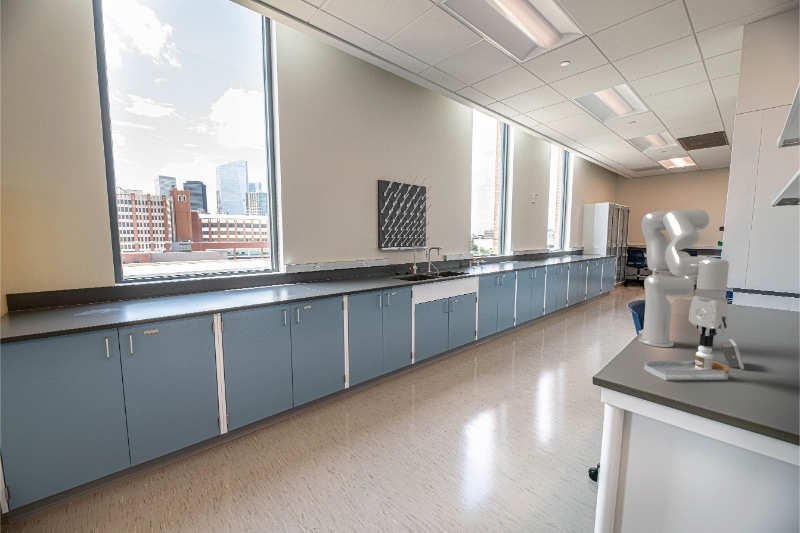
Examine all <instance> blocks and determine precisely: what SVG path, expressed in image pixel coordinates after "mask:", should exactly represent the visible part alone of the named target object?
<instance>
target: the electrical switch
mask: <svg viewBox="0 0 800 533" xmlns="http://www.w3.org/2000/svg"><path fill="white" fill-rule="evenodd" d="M720 345H721V348H722V351H723V355H724V359H725V361H726V364H727V365H728V367H729V368H740V370H745V365H744V363H743V360H742V356H741V353H740V352H741V351H740V349H739V347H738V345H737V343H736V342H735V341H734V339H732V338H729V341H720Z"/></svg>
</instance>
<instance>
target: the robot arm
mask: <svg viewBox="0 0 800 533" xmlns="http://www.w3.org/2000/svg"><path fill="white" fill-rule="evenodd" d="M709 216H710V215H709V214H708V212H706V211H705V210H704V209H700V208H699V209H693V208H692V209H689V208H688V209H674V210H669V211H668V210H664V211H663V210H662V211H661V210H660V211H652V212H647V213H646V214H645V215H644V216H642V217H643V218H642V220H641V231H642V234H643V237H644V239H645V244H646V248H645V249H646V265H647V268H648V270H650V271H651V272H658V273H671V274H658V273H657V274H651V275H648V276H647V277H645V279H644V283H643V285H644V286H643V287H644V288H643V289H644V293H645V294H644V295H645V300H644V302H645V305H644V316H643V317H644V320H643V329H641V330H638V333H639V334H640V335H641V336H640V337H638V341H639V342H640V343H641V344H645V345H648V346H653V347H658V348H659V347H660V348H672V347H674V345H675V344H674V342H673V341H671V340H670V336H671V326H672V312H673V307H672V306H673V305H672V303H671V302H670V301H669V300H668V298H667V297H683V298H685V297H690V296H691V295H692V294H694V292H695V295H694V296H693V297H692V299H691V301H690V302H691V303H690V306H689V313H688V321H689V323H691V325H692V326H693V327H695V328H697V330H698V333H699V335H700V336H699V337H700V338H699V346H704V347H710V348H712V347H713V345H714V337H716V336H717V335H718V334H725V333H726V330H725V329H727V328H728V326H729V325H728V324H729V306H728V300H727V288H728V280H729V278H728V277H729V270H730V269H729V267H730V262H729V261H728V260H727V259H724V258H716V257H712V256H691V255H690V254H689V253H688V252H687V251H682V250H684V249H688V248H690V247H692V246H694V245H695V244H697V243H698V242H699V241H700V240H701V235H700V233H699V231H702V230H704V229H706V228H707V227H708V225H709V224H710V217H709ZM662 231H666V232H667V234H668V236H666V235H665V233H664V232H662ZM668 237H669V238H670V239H669V238H668ZM670 240H671V242H670ZM694 278H697V279H696V280H697V281H696V288H695V279H694Z"/></svg>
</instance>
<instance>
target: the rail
mask: <svg viewBox="0 0 800 533" xmlns="http://www.w3.org/2000/svg"><path fill="white" fill-rule="evenodd" d="M644 371H646V372H648V373H649V374H652V375H653V376H656V377H657V376H658V378H659V377H660V379H661V378H662V379H661V380H663V379H664V380H663V381H718V380H719V381H722V380H723V381H724V380H725V381H726V380H729V374H730V373H729V372H730V367H729V365H728V366H727V365H725V364H722V363H720V362H717V361H714V360H713V362H712V370H701V369H698V368H696V367H695V360H649V361H648V360H645V361H644Z"/></svg>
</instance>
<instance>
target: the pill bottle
mask: <svg viewBox="0 0 800 533" xmlns="http://www.w3.org/2000/svg"><path fill="white" fill-rule="evenodd" d="M697 350H698V351H696V352H695V359H694V361H695V367H696V368H698V369H701V370H712V362H713V361H714V359H713V358H714V355H713V354H712V352H713V351H712V350H713V349H712V347H704V346H701V345H699V346H698V347H697Z"/></svg>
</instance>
